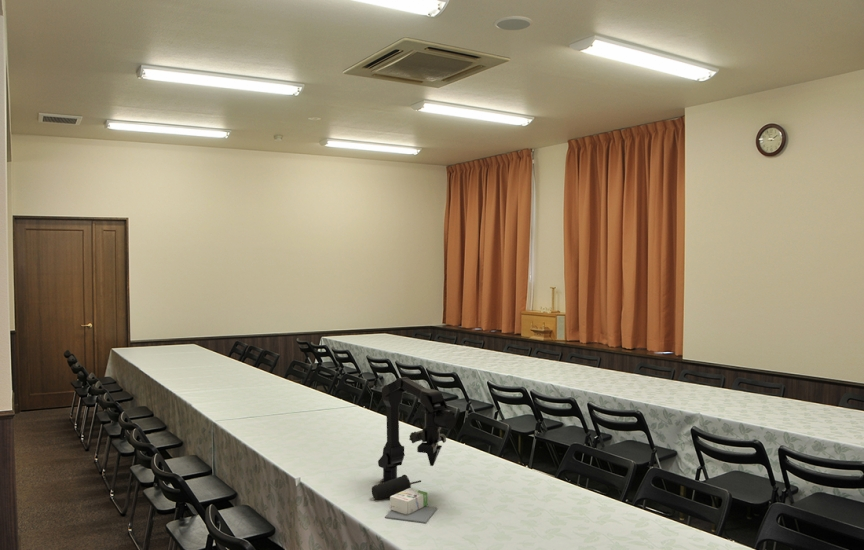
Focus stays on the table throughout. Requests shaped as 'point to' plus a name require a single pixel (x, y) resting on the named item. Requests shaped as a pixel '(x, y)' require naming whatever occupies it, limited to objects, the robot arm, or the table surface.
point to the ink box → (408, 501)
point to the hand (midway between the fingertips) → (431, 465)
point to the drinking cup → (392, 487)
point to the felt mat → (413, 515)
